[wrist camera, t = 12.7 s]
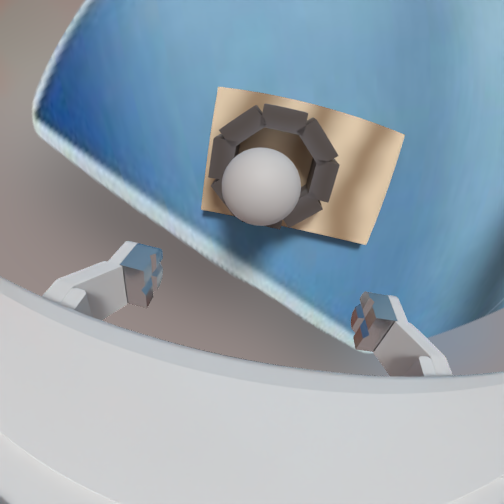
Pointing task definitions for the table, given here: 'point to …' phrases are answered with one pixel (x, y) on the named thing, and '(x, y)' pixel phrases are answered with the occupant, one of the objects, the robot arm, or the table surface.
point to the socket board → (307, 159)
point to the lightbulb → (261, 186)
